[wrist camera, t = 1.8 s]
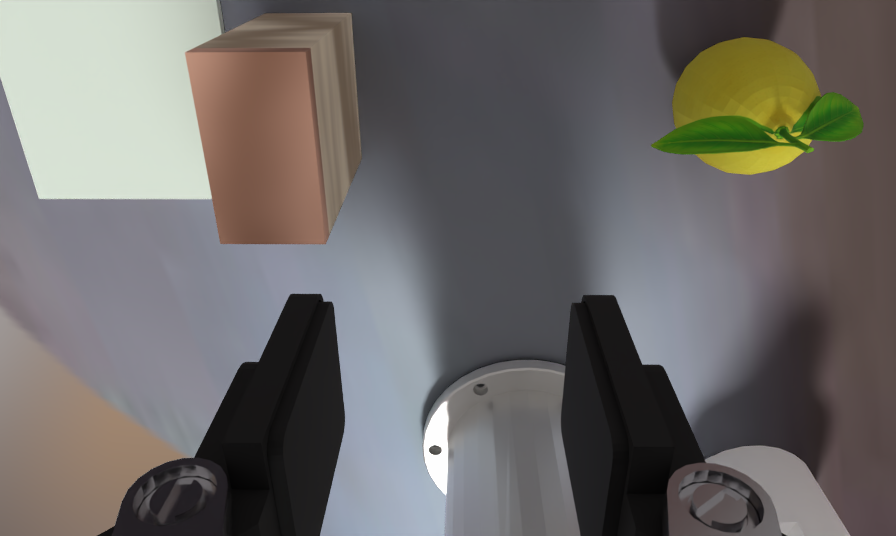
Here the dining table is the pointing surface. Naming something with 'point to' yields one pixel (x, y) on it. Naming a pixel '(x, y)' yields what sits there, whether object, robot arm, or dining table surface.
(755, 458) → the cylinder with rectangular tab
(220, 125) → the maple block
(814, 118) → the lemon
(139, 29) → the pale green square plate
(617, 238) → the dining table surface
